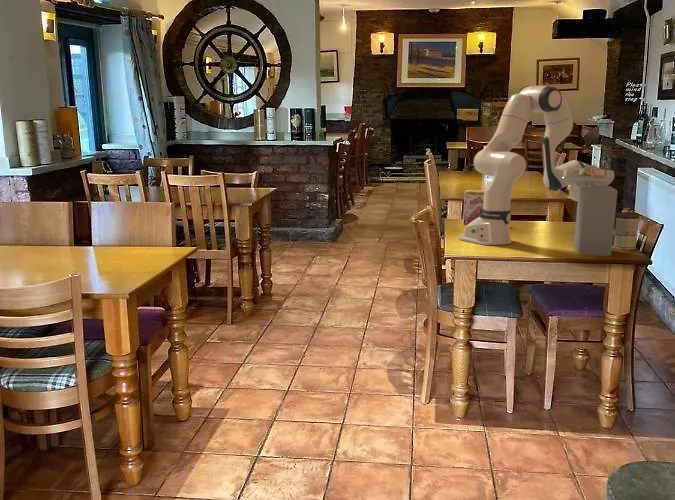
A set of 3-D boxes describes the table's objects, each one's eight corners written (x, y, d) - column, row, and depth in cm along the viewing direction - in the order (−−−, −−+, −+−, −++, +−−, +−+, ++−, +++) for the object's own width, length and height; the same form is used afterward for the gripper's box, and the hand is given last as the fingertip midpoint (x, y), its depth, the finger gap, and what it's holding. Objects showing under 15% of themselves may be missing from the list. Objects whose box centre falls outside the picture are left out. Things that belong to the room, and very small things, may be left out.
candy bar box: (463, 224, 325) (465, 191, 321) (462, 222, 330) (464, 189, 326) (487, 225, 324) (489, 191, 320) (485, 223, 329) (487, 190, 325)
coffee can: (603, 245, 282) (607, 212, 279) (622, 243, 286) (625, 211, 283) (622, 250, 273) (626, 216, 270) (641, 248, 277) (645, 215, 274)
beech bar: (603, 178, 264) (604, 170, 263) (594, 177, 264) (595, 170, 264) (593, 172, 282) (593, 165, 281) (584, 172, 283) (585, 165, 282)
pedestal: (611, 255, 264) (617, 190, 258) (579, 254, 266) (585, 189, 260) (604, 249, 276) (610, 186, 270) (573, 247, 278) (579, 185, 272)
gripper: (559, 174, 292) (565, 161, 279) (608, 175, 289) (617, 162, 276) (560, 188, 291) (566, 175, 278) (609, 189, 288) (617, 176, 274)
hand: (592, 169), depth 277 cm, fingers closed on beech bar, 3 cm apart
